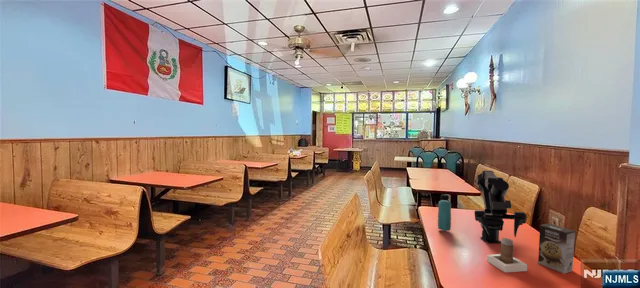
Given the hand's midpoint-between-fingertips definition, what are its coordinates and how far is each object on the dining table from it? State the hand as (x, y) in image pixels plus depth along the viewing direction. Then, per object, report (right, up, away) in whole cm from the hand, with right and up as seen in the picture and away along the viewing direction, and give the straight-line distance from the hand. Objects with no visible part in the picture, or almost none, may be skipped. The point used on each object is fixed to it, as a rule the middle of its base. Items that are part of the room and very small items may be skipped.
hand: (501, 235), depth 113 cm
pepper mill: (-1, -11, -4) cm, 12 cm away
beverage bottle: (-9, -9, +33) cm, 35 cm away
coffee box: (+18, -11, -5) cm, 21 cm away
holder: (-1, -11, -4) cm, 12 cm away
